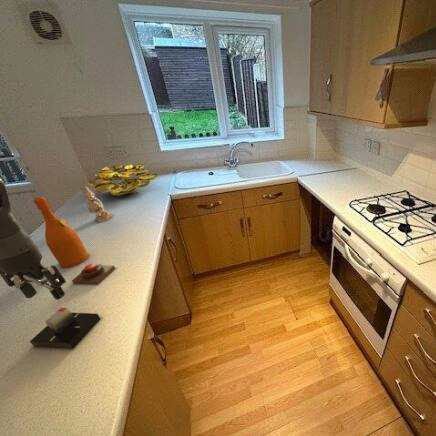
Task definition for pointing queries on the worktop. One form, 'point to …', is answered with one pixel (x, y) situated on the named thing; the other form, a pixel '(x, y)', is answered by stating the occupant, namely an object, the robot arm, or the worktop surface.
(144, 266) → the worktop surface
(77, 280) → the button block
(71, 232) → the wine bottle
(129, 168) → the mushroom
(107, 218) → the figurine
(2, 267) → the robot arm
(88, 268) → the button
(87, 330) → the panel
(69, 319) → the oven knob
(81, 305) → the worktop surface
